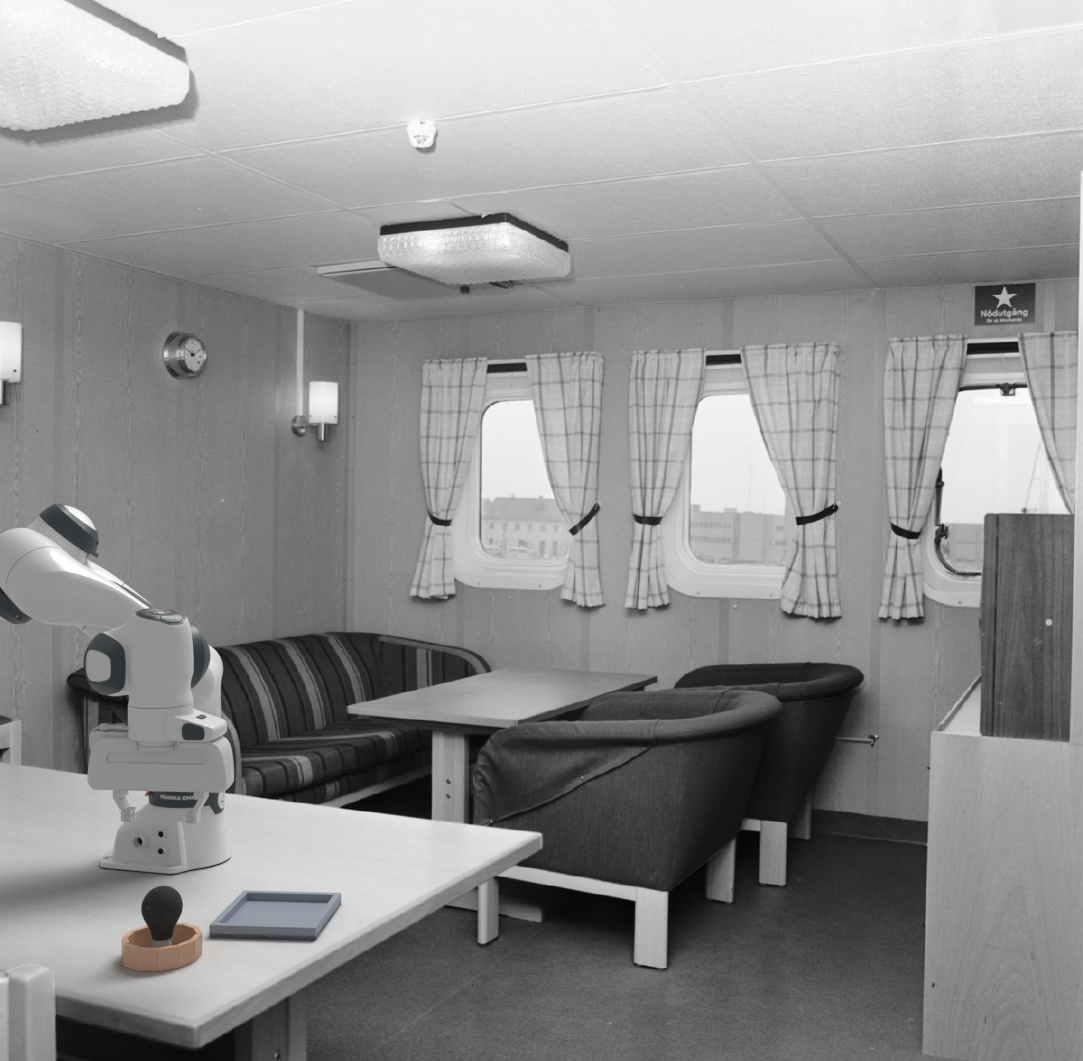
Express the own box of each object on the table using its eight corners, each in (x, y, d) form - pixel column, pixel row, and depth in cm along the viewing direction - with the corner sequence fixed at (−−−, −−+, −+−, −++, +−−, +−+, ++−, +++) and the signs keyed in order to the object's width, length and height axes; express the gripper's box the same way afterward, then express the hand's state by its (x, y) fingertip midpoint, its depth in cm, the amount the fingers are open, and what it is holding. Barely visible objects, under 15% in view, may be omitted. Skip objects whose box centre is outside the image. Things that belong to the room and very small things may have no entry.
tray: (209, 936, 173) (209, 924, 173) (243, 901, 189) (243, 890, 189) (315, 939, 172) (315, 927, 172) (341, 903, 188) (341, 892, 188)
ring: (109, 969, 161) (109, 948, 161) (140, 941, 171) (140, 921, 171) (184, 972, 160) (185, 950, 160) (211, 943, 170) (211, 923, 170)
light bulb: (146, 949, 168) (146, 880, 168) (186, 948, 169) (186, 879, 168) (136, 964, 162) (136, 893, 162) (177, 963, 163) (177, 892, 163)
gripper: (79, 726, 163) (79, 825, 163) (223, 729, 161) (222, 829, 161) (99, 718, 169) (99, 814, 169) (238, 721, 168) (237, 817, 168)
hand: (160, 821), depth 165 cm, fingers open, 8 cm apart
